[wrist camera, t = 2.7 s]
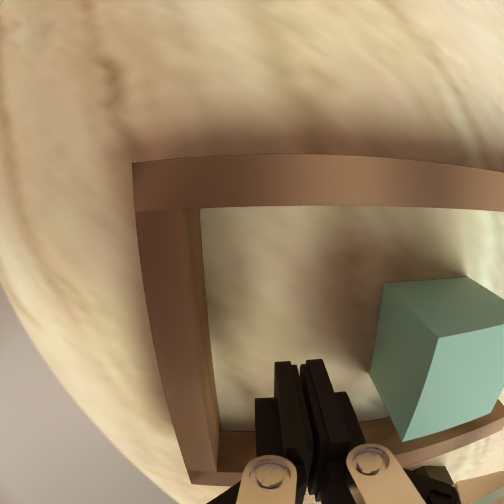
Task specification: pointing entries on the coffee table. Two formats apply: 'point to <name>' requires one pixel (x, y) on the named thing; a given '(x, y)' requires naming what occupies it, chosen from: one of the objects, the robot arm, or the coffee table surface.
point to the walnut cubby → (193, 286)
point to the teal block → (438, 353)
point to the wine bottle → (435, 473)
